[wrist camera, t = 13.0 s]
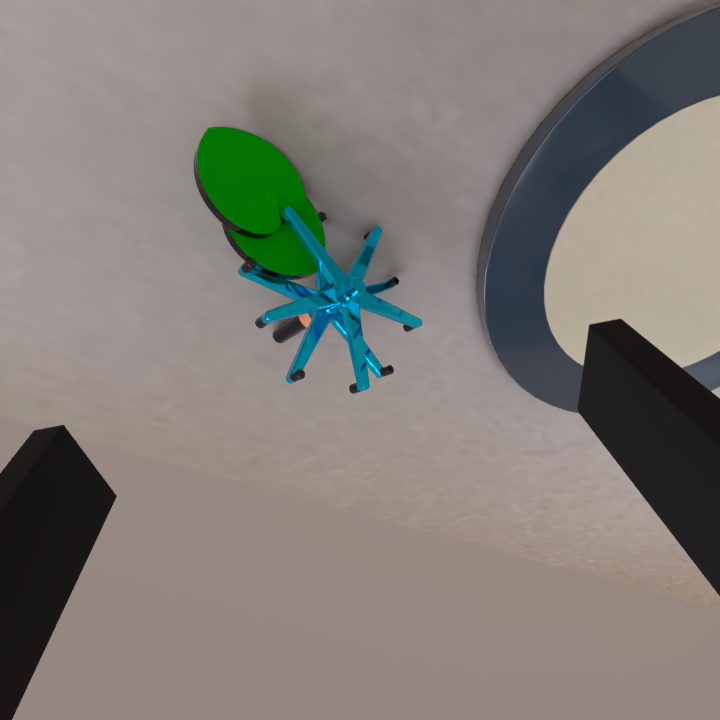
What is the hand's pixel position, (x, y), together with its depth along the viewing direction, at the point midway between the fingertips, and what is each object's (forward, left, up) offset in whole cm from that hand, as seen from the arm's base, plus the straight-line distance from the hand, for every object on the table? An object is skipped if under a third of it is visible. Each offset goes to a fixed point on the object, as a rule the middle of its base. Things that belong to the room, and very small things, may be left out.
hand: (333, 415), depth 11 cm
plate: (-17, +3, -12) cm, 21 cm away
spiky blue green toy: (+1, 0, -12) cm, 12 cm away
